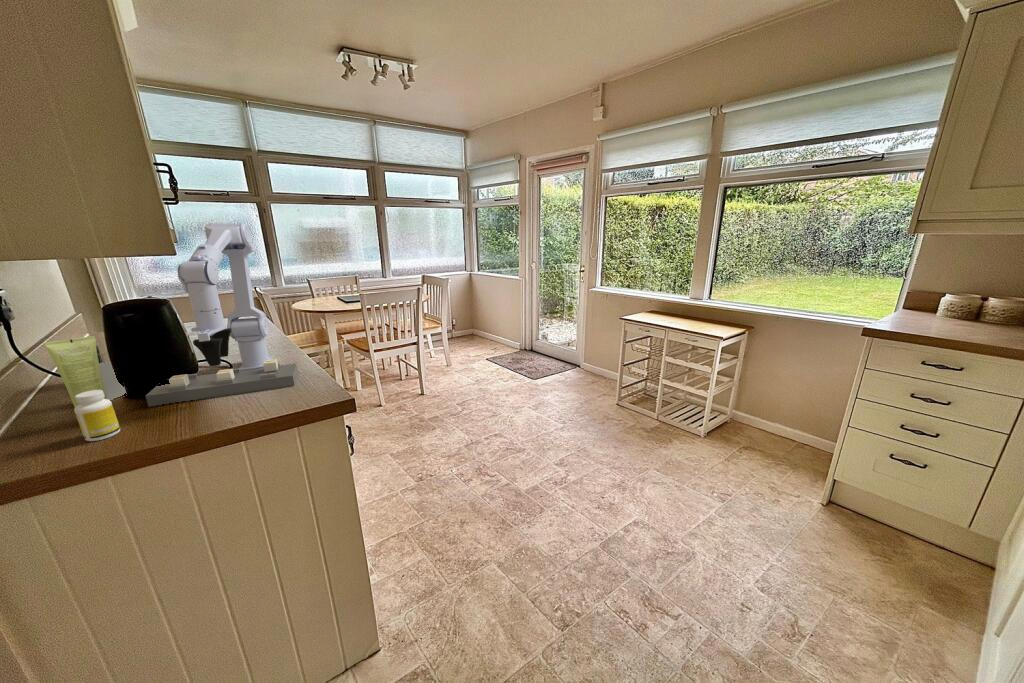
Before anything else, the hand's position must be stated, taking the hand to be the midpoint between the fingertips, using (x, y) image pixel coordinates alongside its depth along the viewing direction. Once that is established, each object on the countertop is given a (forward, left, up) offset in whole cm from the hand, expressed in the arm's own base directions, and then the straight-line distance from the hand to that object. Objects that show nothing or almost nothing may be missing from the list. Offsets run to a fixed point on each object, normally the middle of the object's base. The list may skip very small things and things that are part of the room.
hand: (219, 360), depth 99 cm
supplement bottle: (+15, -19, -10) cm, 26 cm away
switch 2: (-6, +10, -6) cm, 13 cm away
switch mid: (-2, 0, -6) cm, 7 cm away
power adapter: (-9, -27, -10) cm, 30 cm away
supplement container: (-26, -38, -10) cm, 47 cm away
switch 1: (-2, -10, -6) cm, 12 cm away
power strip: (-4, 0, -9) cm, 10 cm away
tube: (+5, -24, -10) cm, 26 cm away
